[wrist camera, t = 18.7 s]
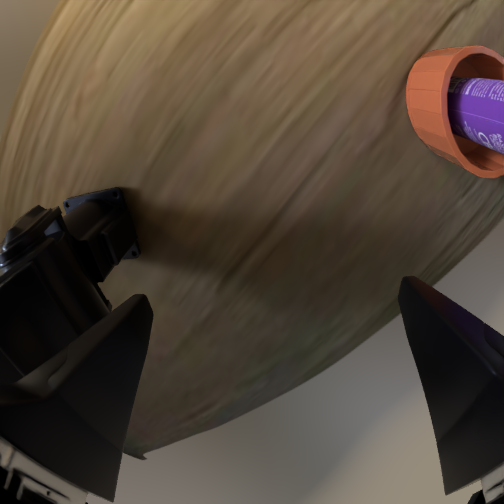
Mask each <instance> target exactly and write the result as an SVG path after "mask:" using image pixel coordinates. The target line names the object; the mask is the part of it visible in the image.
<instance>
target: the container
mask: <svg viewBox="0 0 504 504" xmlns="http://www.w3.org/2000/svg"><path fill="white" fill-rule="evenodd" d="M447 108H448V118H449V122H450V127H451V131H452V133H453V134H455V135H458V136H460V137H463V138H466V139H468V140H471V141H473V142H476V143H478V144H481V145H483V146H485V147H488V148H490V149H492V150H495V151H497V152H499V153H501V154H503V155H504V81H502V80H494V79H484V78H472V77H451V78H450V83H449V88H448V92H447Z"/></svg>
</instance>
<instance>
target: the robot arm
mask: <svg viewBox="0 0 504 504" xmlns="http://www.w3.org/2000/svg"><path fill="white" fill-rule="evenodd" d="M115 192H117V193H118V196H117V195H116V194H115ZM68 203H69V205H70V206H69V205H68ZM63 204H64V208H65V211H66V215H65V216H64V217H63V218H62V215H61V213H62V212H61V210H60V208H59V206H58V207H56V208H53V209H51V208H50V209H45V208H43V207H41V206H40V205H38V206H36V207H34V208H33V209H31V210H30V211H28V212H27V213H26V214H24V215H23V216H22V217H20V218H19V219H18V220H17V221H16V222H15V223H14V224H13V225H12V226H11V227H10V228H9V229H8V231H7V234H6V237H5V238H4V240H3V241H2V243H1V245H0V504H88V503H87V502H86V498H87V494H88V493H89V494H91V495H94V496H96V497H99V498H102V499H104V500H107V501H110V502H114V497H115V491H116V485H117V480H118V474H119V469H120V464H121V458H122V452H123V448H124V443H125V438H126V434H127V429H128V425H129V421H130V416H131V412H132V408H133V404H134V400H135V396H136V392H137V388H138V384H139V380H140V376H141V373H142V369H143V365H144V362H145V358H146V354H147V350H148V345H149V339H150V333H151V327H152V322H153V310H152V308H151V306H150V303H149V301H148V298H147V296H146V295H144V294H135V295H133V296H132V297H130V298H129V299H128V300H126V301H125V302H124V303H122V304H121V305H120V306H118V307H117V308H116V309H114V310H113V311H112V312H111V309H112V305H111V303H110V302H109V300H107V299H106V297H105V296H104V294H103V293H102V291H101V289H100V288H99V286H98V284H97V283H98V282H103V281H104V280H105V279H106V277H107V276H108V274H109V273H110V272H111V270H112V269H113V268H114V266H116V265H118V264H119V262H120V261H121V260H122V259H133V258H138V257H139V256H140V254H141V250H140V247H139V244H138V241H137V235H136V231H135V228H134V225H133V222H132V218H131V215H130V212H129V211H128V209H127V206H126V202H125V199H124V195H123V192H122V190H121V189H120V188H119V187H115V188H110V189H105V190H101V191H96V192H92V193H88V194H83V195H79V196H75V197H71V198H68V199H66V200H65V201H64V203H63ZM133 251H135V252H136V253H137V254H136V253H134V252H133ZM398 302H399V306H400V310H401V314H402V318H403V322H404V326H405V330H406V334H407V338H408V342H409V345H410V347H411V351H412V354H413V357H414V360H415V363H416V366H417V369H418V372H419V376H420V379H421V383H422V386H423V390H424V393H425V397H426V400H427V404H428V408H429V412H430V416H431V420H432V424H433V429H434V433H435V438H436V442H437V448H438V453H439V458H440V464H441V469H442V476H443V483H444V490H445V495H448V494H451V493H453V492H455V491H458V490H460V489H462V488H465V487H467V486H469V485H471V484H473V483H475V482H477V481H479V480H481V484H482V490H480V491H478V492H476V493H474V494H473V495H472V497H471V498H470V500H469V502H468V504H504V336H503V335H501V334H500V333H498V332H497V331H495V330H494V329H493V328H491V327H490V326H489V325H487V324H486V323H484V322H483V321H482V320H480V319H479V318H477V317H476V316H474V315H473V314H471V313H470V312H468V311H467V310H466V309H464V308H463V307H461V306H460V305H458V304H457V303H455V302H454V301H452V300H451V299H449V298H448V297H446V296H445V295H443V294H442V293H440V292H439V291H437V290H435V289H434V288H432V287H431V286H429V285H428V284H426V283H425V282H423V281H422V280H420V279H418V278H417V277H415V276H405V277H403V278H402V281H401V285H400V290H399V295H398Z"/></svg>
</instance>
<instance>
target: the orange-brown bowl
mask: <svg viewBox="0 0 504 504" xmlns="http://www.w3.org/2000/svg"><path fill="white" fill-rule="evenodd" d="M451 77H472V78H484V79H494V80H502V81H504V58H503V57H502V56H500V55H499V54H498V53H497V52H496V51H494V50H491V49H489V48H486V47H483V46H480V45H478V46H464V47H454V48H445V49H438V50H433V51H430V52H427V53H426V54H424V55H422V56H421V57H420V58H419V59H418V60H417V61H416V63H415V64H414V65H413V67H412V69H411V71H410V74H409V76H408V80H407V86H406V104H407V110H408V114H409V117H410V121H411V123H412V125H413V128H414V130H415V131H416V133H417V135H418V136H419V138H420V139H421V141H422V142H423V143H424V144H425V145H426V146H427V147H428V148H429V149H430V150H432V151H433V152H435V153H436V154H437V155H439V156H441V157H443V158H445V159H447V160H449V161H451V162H453V163H455V164H457V165H459V166H460V167H462V168H464V169H466V170H468V171H469V172H471V173H473V174H475V175H477V176H479V177H481V178H497V177H499V176H502V175H504V155H503V154H501V153H499V152H497V151H495V150H492V149H490V148H488V147H485V146H483V145H481V144H478V143H476V142H473V141H471V140H468V139H466V138H463V137H460V136H458V135H455V134H453V133H452V131H451V127H450V122H449V118H448V108H447V92H448V88H449V83H450V78H451Z"/></svg>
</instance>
